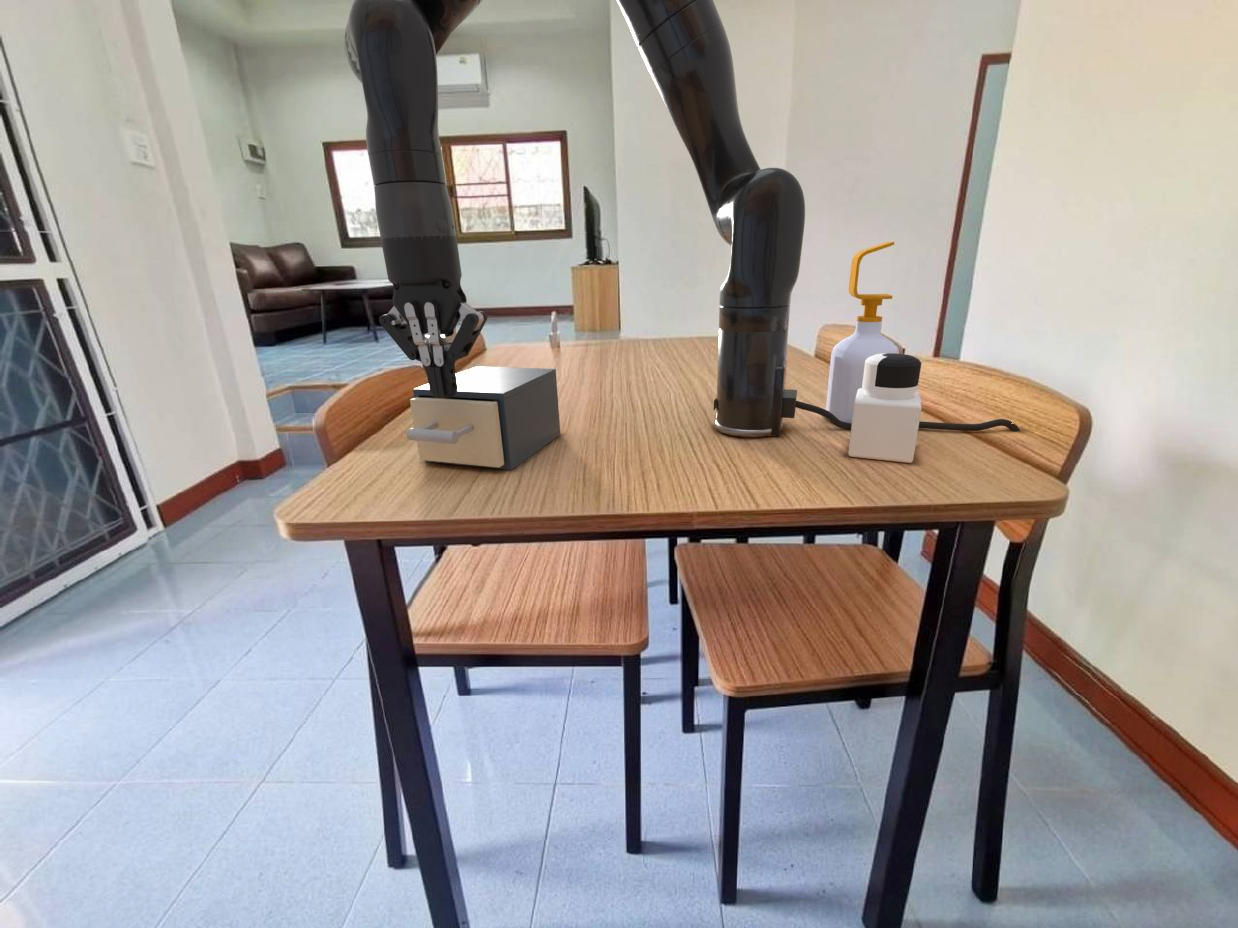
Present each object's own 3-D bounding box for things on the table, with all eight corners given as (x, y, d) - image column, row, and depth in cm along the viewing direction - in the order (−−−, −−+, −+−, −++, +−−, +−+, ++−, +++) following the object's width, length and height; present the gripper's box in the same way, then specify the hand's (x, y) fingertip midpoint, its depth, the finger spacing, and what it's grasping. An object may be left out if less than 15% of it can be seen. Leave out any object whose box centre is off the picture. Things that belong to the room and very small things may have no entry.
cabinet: (511, 470, 68) (503, 393, 65) (424, 461, 72) (412, 388, 69) (560, 434, 81) (555, 368, 78) (485, 429, 85) (477, 366, 82)
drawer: (478, 482, 62) (469, 415, 60) (394, 473, 66) (382, 409, 63) (548, 434, 79) (543, 379, 76) (478, 428, 82) (471, 376, 79)
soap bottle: (897, 429, 78) (926, 240, 69) (829, 427, 80) (848, 243, 71) (882, 412, 86) (906, 241, 78) (820, 410, 88) (837, 243, 79)
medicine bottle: (911, 445, 72) (926, 351, 68) (912, 464, 66) (929, 362, 61) (851, 439, 75) (862, 349, 70) (847, 457, 69) (859, 359, 64)
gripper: (493, 231, 59) (511, 391, 66) (390, 238, 63) (417, 387, 70) (452, 230, 53) (477, 408, 59) (341, 237, 57) (375, 403, 63)
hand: (444, 396), depth 64 cm, fingers closed
